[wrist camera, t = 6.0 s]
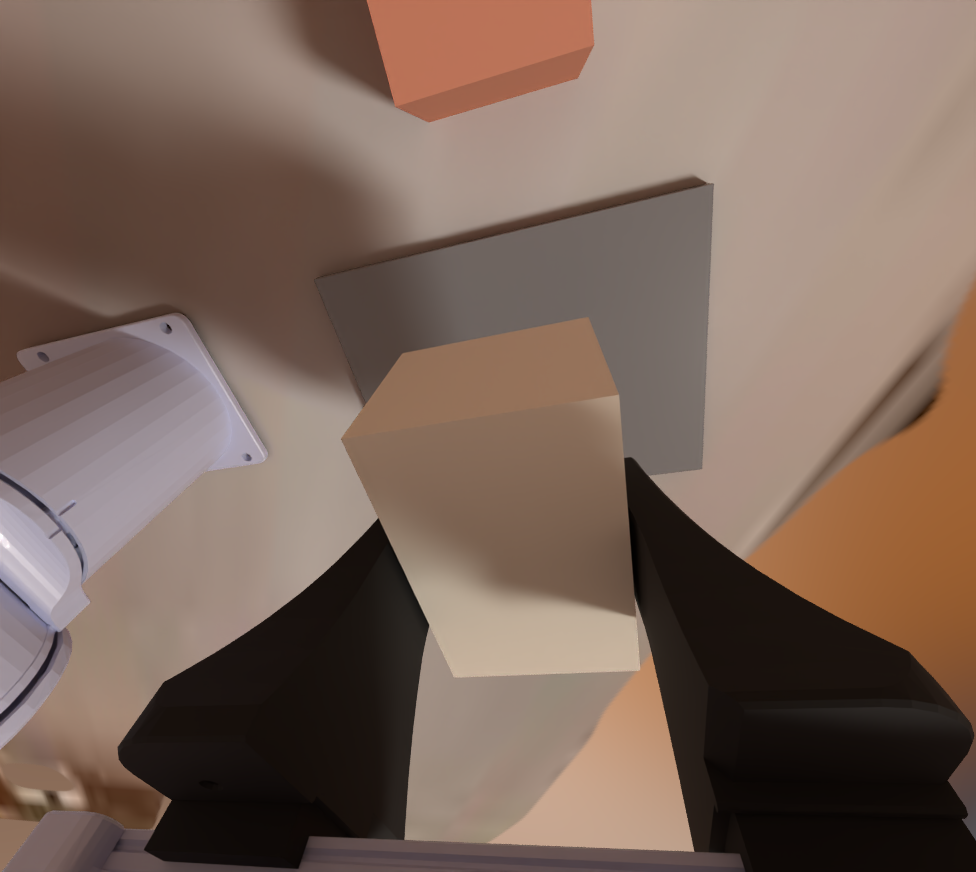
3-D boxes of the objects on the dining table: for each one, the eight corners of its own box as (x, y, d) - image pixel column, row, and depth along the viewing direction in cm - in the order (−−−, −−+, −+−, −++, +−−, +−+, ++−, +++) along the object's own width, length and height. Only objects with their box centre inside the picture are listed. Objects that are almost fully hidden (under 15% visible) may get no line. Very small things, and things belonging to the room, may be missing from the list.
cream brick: (473, 556, 16) (454, 677, 12) (402, 353, 12) (340, 439, 8) (612, 543, 15) (640, 670, 11) (588, 316, 11) (619, 394, 7)
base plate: (410, 498, 23) (408, 504, 23) (319, 277, 17) (314, 279, 17) (698, 463, 21) (701, 469, 20) (708, 183, 15) (713, 183, 14)
